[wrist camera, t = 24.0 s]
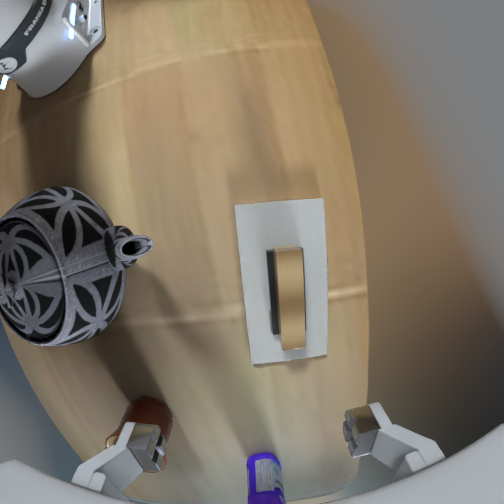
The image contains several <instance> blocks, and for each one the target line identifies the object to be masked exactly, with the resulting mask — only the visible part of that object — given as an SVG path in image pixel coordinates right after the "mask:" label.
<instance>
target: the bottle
mask: <svg viewBox="0 0 504 504" xmlns="http://www.w3.org/2000/svg"><path fill="white" fill-rule="evenodd" d="M247 480H248V504H286V501H285V497H284V490H283V482H282V474H281V465H280V462H279V460H278V459H277V458H276V457H275V456H274V455H273V454H271V453H267V452H266V453H260V454H255V455H252V456H250V457H249V458H248V460H247Z"/></svg>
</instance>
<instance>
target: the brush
mask: <svg viewBox="0 0 504 504" xmlns="http://www.w3.org/2000/svg"><path fill="white" fill-rule="evenodd" d="M266 259H267V271H268V284H269V297H270V310H271V323H272V333H273V335H278V334H279V339H280V343H281V348H282V351H285V350H293V349H300V348H306V340H305V331H306V300H305V274H304V254H303V248H302V247H299V246H298V245H286V246H275V247H273V249H270V250H266Z"/></svg>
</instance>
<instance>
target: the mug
mask: <svg viewBox="0 0 504 504" xmlns="http://www.w3.org/2000/svg"><path fill="white" fill-rule="evenodd" d="M126 422H134V423H143V424H151V425H158V426H159V428H160V429H161V431H160V434H161V435H163V436H164V438H165V440H166V444H167V441H168V439H169V436H170V432H171V429H172V424H173V416H172V413H171V411H170V409H169V408H168V407H167V406H166V405H165V404H164V403H162V402H160V401H159V400H157V399H154V398H151V397H138V398H136V399H134V400H133V401H132V403H131V404H130V405H129V406H128V407H127V409H126V412H125V414H124V416H123V418H122V421H121V423H120V425H119V427H118V428H117V430H116V431H115V432H113V433H112V434H111V435H110V436H109V437H108V438H107V439H106V442H105V444H106V448H105V449H107V448H109V447H110V446H112V445H116V443H117V440H118V438H119V436H120V434H121V431H122V429H123V427H124V425H125V423H126ZM161 458H162V460H163V465H162V468H161V471H162V470H164V469H165V468H166V466H167V461H166V453H165V455H163V456H162V457H161ZM143 472H149V473H155V472H159V471H149V470H144V471H143Z"/></svg>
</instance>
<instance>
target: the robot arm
mask: <svg viewBox="0 0 504 504" xmlns="http://www.w3.org/2000/svg"><path fill="white" fill-rule="evenodd" d="M104 37H105V26H104V10H103V0H0V74H4V77H3V80H2V83H1V87H0V88H1V89H5V86H6V83H7V79H8V78H10V79H11V80H13V81H14V82H16V83H17V84H18V85H19V86H20V87H21V88H23V89H24V90H25V92H26V93H27V94H28V95H29V96H31V97H35V98H38V97H43V96H46V95H48V94H50V93H52V92H53V91H55V90H56V89H58V88H59V87H60V86H62V85H63V84H64V83H65V82H66V81H67V80H68V79H69V78H70V77H71V76H72V75H73V74H74V72H75V71H76V70H77V69H78V67H79V66H80V65H81V63H82V62H83V60H84V59H85V57H86V56H87V54H88V53H89V52H90V51H91V50H92V49H93V48H95V47H96V46H97V45H98V44H99V43H100V42H101V41H102V40H103V39H104ZM345 419H346V420H345V421H344V422H343V434H344V438H345V440H346V441H347V442H349V447H348V448H349V451H350V454H351V456H352V458H355V457H359V456H362V455H367V454H371V455H372V456H373V457H375V458H376V459H378V460H379V461H381V462H382V463H384V464H385V465H387V466H388V467H390V468H391V469H393V470H394V471H396V474H395V476H394V478H393V480H392V481H391V484H389V485H386V486H383V487H380V488H377V489H374V490H371V491H368V492H365V493H361V494H358V495H354V496H351V497H347V498H343V499H339V500H335V501H330V502H326V503H321V504H504V423H503V424H501V425H499V426H497V427H496V428H495V429H493V430H492V431H490V432H489V433H488V434H486V435H485V436H483V437H482V438H481V439H479V440H477V441H476V442H474V443H472V444H471V445H469V446H468V447H466V448H464V449H463V450H461V451H459V452H457V453H456V454H454V455H452V456H450V457H448V458H447V459H446V458H445V456H444V454H443V453H442V452H441V450H440V449H439V447H438V445H437V444H436V442H435V441H433V440H431V439H428V438H426V437H423V436H421V435H419V434H416V433H414V432H412V431H410V430H407V429H405V428H403V427H400V426H398V425H396V424H395V425H392V423H391V422H390V420H389V418H388V416H387V415H386V413H385V411H384V410H383V408H382V406H381V405H380V403H379V402H376V403H373V404H369V405H365V406H361V407H357V408H354V409H350V410H346V412H345ZM160 431H161V429H160V428H159V426H158V425H151V424H143V423H134V422H126V423H125V425H124V427H123V429H122V431H121V434H120V436H119V438H118V440H117V443H116V445H112V446H110V447H109V448H107V449H105V450H104V451H102V452H101V453H99V454H97V455H96V456H94V457H93V458H91V459H89V460H88V461H86V462H84V463H83V464H81V465H79V466H78V468H77V470H76V472H75V475H74V477H73V478H72V481H71V483H67V482H65V481H62V480H60V479H57V478H55V477H53V476H50V475H48V474H46V473H44V472H42V471H39V470H37V469H35V468H33V467H31V466H29V465H28V464H26V463H24V462H22V461H20V460H17V459H13V460H10V461H7V462H4V463H1V464H0V504H139V503H134V502H130V501H128V499H127V498H126V497H125V496H124V495H123V494H122V493H121V491H122V490H123V489H124V488H125V487H127V486H128V485H129V484H130V483H131V482H132V481H133V480H134V479H135V478H136V477H137V476H139V475H140V474H141V473H142V472H143V471H144V470H149V471H159V472H161V468H162V465H163V460H162V458H161V457H162V456H163V455H165V453H166V440H165V438H164V436H163V435H161V434H160Z"/></svg>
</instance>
